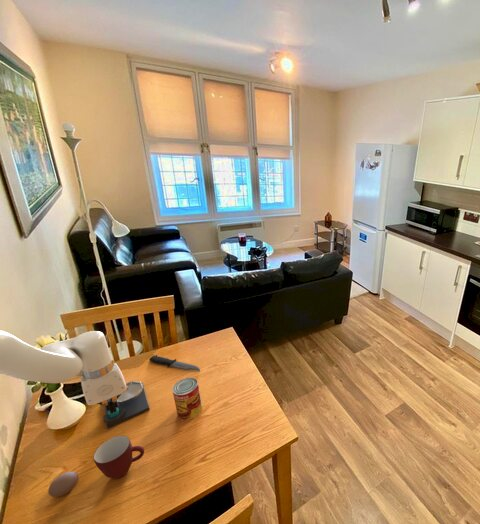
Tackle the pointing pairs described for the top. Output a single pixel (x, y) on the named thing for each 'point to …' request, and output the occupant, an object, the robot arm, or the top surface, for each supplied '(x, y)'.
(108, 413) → the tare button
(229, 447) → the top surface
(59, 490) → the egg
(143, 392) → the scale
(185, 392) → the canned food
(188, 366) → the knife
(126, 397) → the shallow metal dish
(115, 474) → the mug
